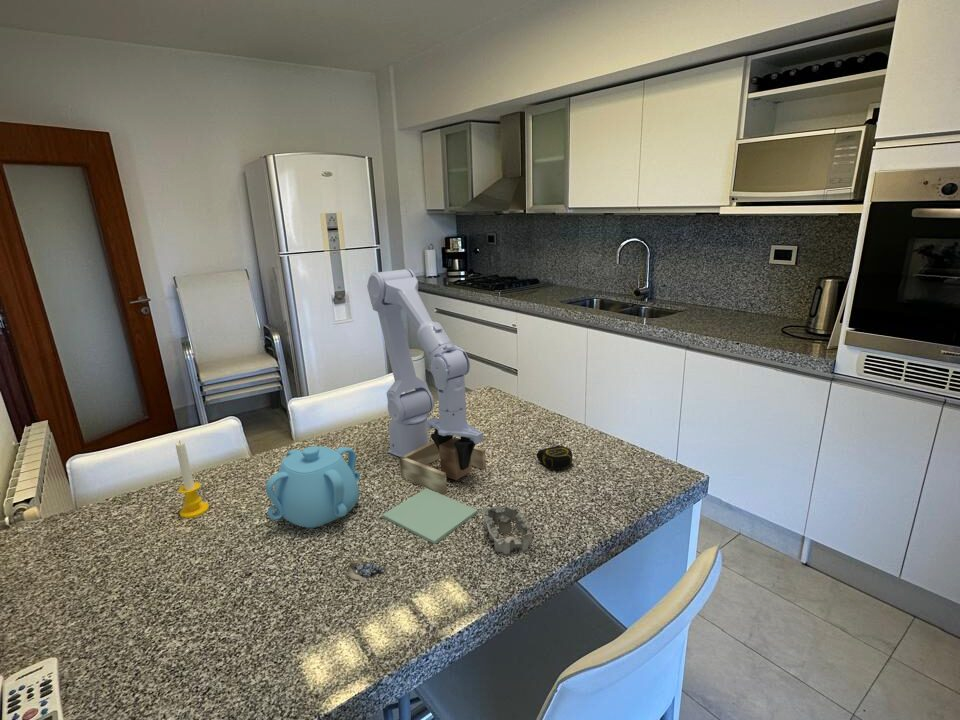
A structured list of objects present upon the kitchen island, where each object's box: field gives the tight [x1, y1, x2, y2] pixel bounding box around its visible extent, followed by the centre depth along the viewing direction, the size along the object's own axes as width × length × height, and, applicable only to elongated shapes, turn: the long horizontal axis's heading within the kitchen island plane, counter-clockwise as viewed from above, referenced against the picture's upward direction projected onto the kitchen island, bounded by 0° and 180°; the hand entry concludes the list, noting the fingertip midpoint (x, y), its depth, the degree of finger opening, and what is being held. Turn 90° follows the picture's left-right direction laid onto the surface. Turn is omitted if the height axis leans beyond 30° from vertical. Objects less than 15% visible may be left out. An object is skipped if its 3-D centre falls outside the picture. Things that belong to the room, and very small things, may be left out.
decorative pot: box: [265, 445, 361, 530], centre depth 99 cm, size 16×16×14 cm
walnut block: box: [439, 436, 473, 481], centre depth 111 cm, size 4×5×7 cm
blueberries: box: [345, 555, 387, 583], centre depth 84 cm, size 7×8×2 cm
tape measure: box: [535, 445, 573, 470], centre depth 115 cm, size 7×7×4 cm
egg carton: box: [482, 505, 534, 555], centre depth 91 cm, size 10×7×4 cm
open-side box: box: [398, 440, 487, 495], centre depth 114 cm, size 13×14×4 cm
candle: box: [175, 440, 210, 519], centre depth 101 cm, size 5×5×16 cm
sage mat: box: [381, 487, 479, 545], centre depth 98 cm, size 14×12×1 cm
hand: (455, 464), depth 111 cm, fingers closed on walnut block, 4 cm apart
